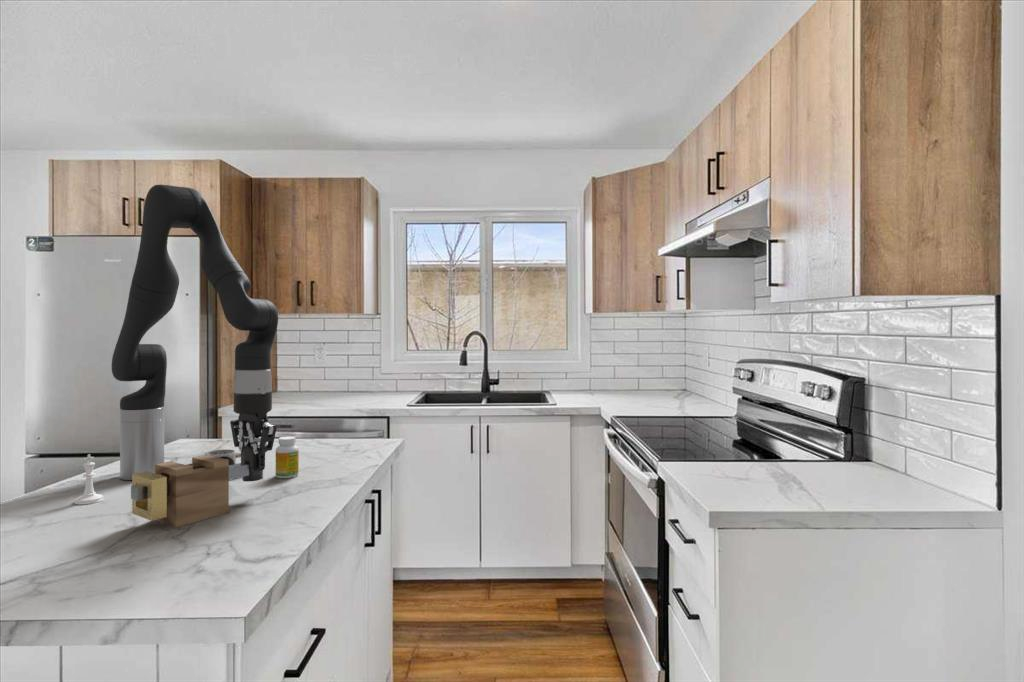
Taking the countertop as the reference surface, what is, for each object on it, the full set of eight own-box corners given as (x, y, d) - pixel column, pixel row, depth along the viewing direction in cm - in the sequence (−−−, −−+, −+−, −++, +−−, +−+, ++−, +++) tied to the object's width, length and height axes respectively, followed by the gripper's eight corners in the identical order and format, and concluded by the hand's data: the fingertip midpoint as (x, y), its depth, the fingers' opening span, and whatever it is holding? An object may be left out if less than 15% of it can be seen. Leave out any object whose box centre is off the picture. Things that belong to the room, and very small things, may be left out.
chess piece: (105, 501, 116) (105, 454, 116) (76, 506, 113) (76, 458, 113) (100, 496, 120) (100, 451, 120) (72, 501, 116) (72, 454, 116)
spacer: (132, 513, 101) (132, 474, 101) (146, 509, 104) (146, 471, 104) (151, 520, 98) (151, 480, 97) (166, 517, 100) (166, 476, 100)
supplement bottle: (290, 479, 134) (290, 440, 134) (270, 478, 136) (271, 439, 135) (302, 474, 140) (302, 436, 140) (284, 472, 141) (284, 435, 141)
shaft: (128, 505, 100) (128, 467, 99) (255, 475, 121) (255, 444, 121) (139, 508, 97) (139, 470, 97) (266, 478, 119) (266, 446, 118)
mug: (207, 484, 130) (207, 456, 130) (202, 478, 135) (202, 451, 135) (252, 477, 136) (252, 451, 136) (246, 472, 142) (246, 446, 141)
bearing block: (154, 519, 105) (154, 464, 105) (206, 505, 114) (206, 454, 113) (176, 527, 101) (176, 470, 101) (228, 512, 109) (228, 459, 109)
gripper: (217, 389, 118) (217, 468, 119) (256, 393, 111) (256, 477, 111) (250, 387, 125) (250, 461, 125) (288, 390, 117) (288, 470, 117)
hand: (252, 468), depth 118 cm, fingers closed on shaft, 4 cm apart
